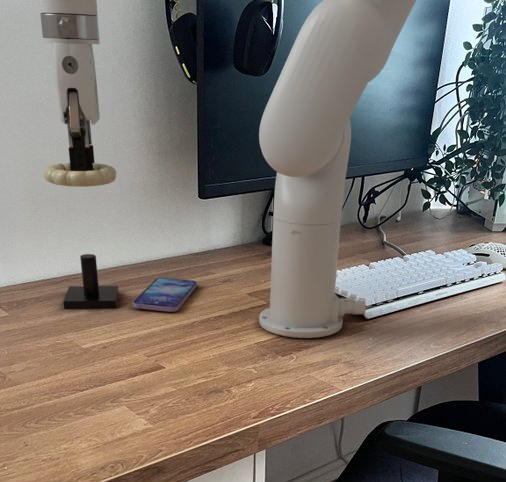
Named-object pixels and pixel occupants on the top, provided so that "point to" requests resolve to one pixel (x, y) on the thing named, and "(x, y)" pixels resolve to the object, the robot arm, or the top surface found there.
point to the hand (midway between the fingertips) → (83, 174)
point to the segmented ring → (80, 175)
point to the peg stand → (90, 289)
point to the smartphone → (165, 294)
